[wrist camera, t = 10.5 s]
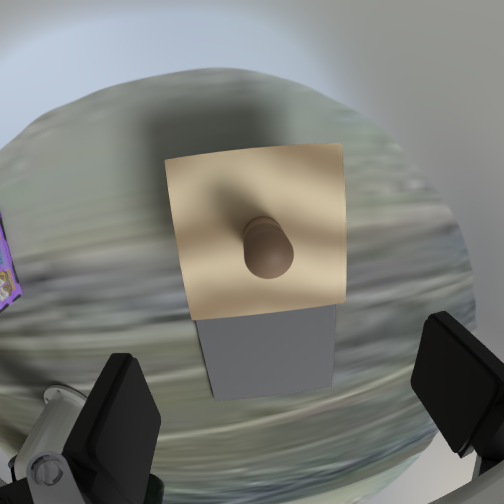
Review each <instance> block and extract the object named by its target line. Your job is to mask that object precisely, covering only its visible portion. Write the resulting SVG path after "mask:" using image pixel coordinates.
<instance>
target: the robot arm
mask: <svg viewBox="0 0 504 504" xmlns="http://www.w3.org/2000/svg"><path fill="white" fill-rule="evenodd" d="M411 386H412V389H413V390H414V392H415V393H416V395H417V396H418V398H419V399H420V401H421V402H422V404H423V405H424V407H425V408H426V410H427V411H428V413H429V414H430V416H431V418H432V419H433V421H434V422H435V424H436V425H437V427H438V429H439V430H440V432H441V433H442V435H443V437H444V438H445V440H446V441H447V443H448V445H449V446H450V448H451V449H452V451H453V452H454V453H458V455H459V456H460V458H463V457H465V456H467V455H468V454H470V453H472V452H473V451H474V449H475V451H476V453H477V457H476V463H475V467H474V472H473V477H472V481H470V482H469V483H467V484H465V485H464V486H462V487H460V488H458V489H456V490H454V491H452V492H451V493H449V494H447V495H445V496H443V497H441V498H439V499H437V500H435V501H433V502H431V503H428V504H504V363H503V362H501V361H500V360H499V359H498V358H497V357H496V356H495V355H494V354H493V353H492V352H491V351H490V350H489V349H488V348H486V346H485V345H483V344H482V343H481V342H480V341H479V340H478V339H477V338H476V337H475V336H474V335H472V334H471V333H470V332H469V331H468V330H467V329H466V328H465V327H464V326H462V325H461V324H460V323H459V322H458V321H457V320H455V319H454V318H453V317H452V316H451V315H450V314H449V313H447V312H446V311H441V312H437V313H434V314H431V315H429V317H428V319H427V320H426V321H425V323H424V327H423V332H422V337H421V341H420V345H419V350H418V354H417V358H416V362H415V365H414V369H413V373H412V376H411ZM44 400H45V403H46V407H45V408H44V410H43V412H42V413H41V415H40V417H39V418H38V420H37V422H36V423H35V425H34V427H33V428H32V430H31V432H30V434H29V435H28V437H27V439H26V441H25V442H24V444H23V446H22V448H21V450H20V451H19V453H18V455H17V457H16V459H15V463H14V471H15V476H16V479H17V481H15V482H12V483H10V484H7V483H6V482H4V481H3V480H2V479H1V478H0V504H143V502H144V498H145V493H146V488H147V483H148V479H149V474H150V469H151V465H152V460H153V455H154V451H155V446H156V442H157V438H158V433H159V429H160V425H161V416H160V413H159V411H158V409H157V406H156V404H155V402H154V399H153V397H152V395H151V392H150V390H149V388H148V385H147V383H146V380H145V378H144V375H143V373H142V370H141V367H140V365H139V362H138V360H137V359H136V358H133V357H132V355H131V354H130V353H113V354H112V355H111V356H110V358H109V359H108V361H107V363H106V365H105V367H104V368H103V370H102V372H101V374H100V376H99V377H98V379H97V381H96V383H95V385H94V387H93V389H92V391H91V392H90V394H89V396H88V398H86V397H84V396H83V395H82V394H80V393H78V392H77V391H75V390H73V389H71V388H68V387H65V386H61V385H51V386H49V387H48V388H47V389H46V391H45V393H44Z"/></svg>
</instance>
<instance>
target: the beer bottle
mask: <svg viewBox="0 0 504 504" xmlns="http://www.w3.org/2000/svg"><path fill="white" fill-rule="evenodd" d="M164 488H165V486H164V484H163V482H162V481H161V480H159V479H158V478H156V477H155V476H153V475H150V474H149V479H148V483H147V488H146V493H145V498H144V502H143V504H162V501H163V495H164Z"/></svg>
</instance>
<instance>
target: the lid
mask: <svg viewBox="0 0 504 504" xmlns="http://www.w3.org/2000/svg"><path fill="white" fill-rule="evenodd" d="M165 168H166V176H167V184H168V191H169V198H170V205H171V212H172V218H173V224H174V231H175V237H176V242H177V248H178V254H179V259H180V265H181V270H182V275H183V280H184V285H185V290H186V295H187V300H188V305H189V309H190V314H191V319H192V320H203V319H215V318H226V317H236V316H246V315H255V314H264V313H273V312H281V311H289V310H297V309H304V308H312V307H319V306H326V305H332V304H339V303H345V301H346V201H345V180H344V164H343V151H342V143H325V144H301V145H285V146H271V147H259V148H248V149H239V150H230V151H221V152H213V153H206V154H199V155H192V156H185V157H179V158H173V159H167V160H165Z"/></svg>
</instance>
